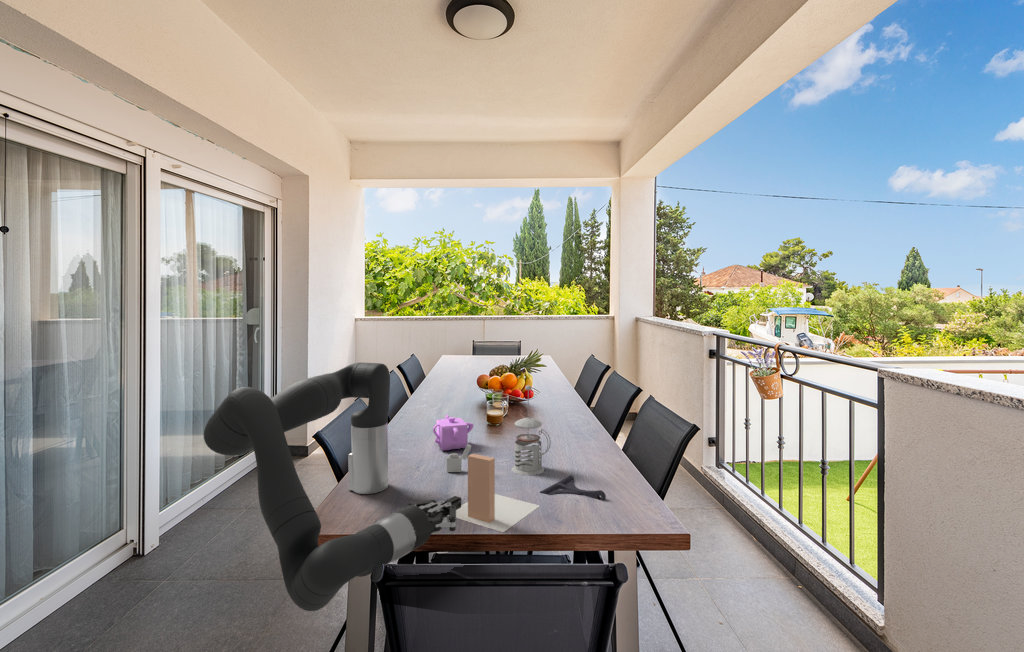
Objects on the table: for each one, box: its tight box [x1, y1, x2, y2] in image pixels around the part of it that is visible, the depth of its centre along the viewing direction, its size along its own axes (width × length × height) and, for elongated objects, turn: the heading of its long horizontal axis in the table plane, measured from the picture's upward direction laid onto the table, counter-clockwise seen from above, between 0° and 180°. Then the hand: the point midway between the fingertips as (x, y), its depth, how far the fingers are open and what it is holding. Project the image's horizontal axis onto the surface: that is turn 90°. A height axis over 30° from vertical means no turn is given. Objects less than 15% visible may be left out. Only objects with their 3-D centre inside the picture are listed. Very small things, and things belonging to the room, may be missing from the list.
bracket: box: [539, 474, 607, 501], centre depth 128 cm, size 14×15×3 cm
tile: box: [467, 453, 496, 523], centre depth 111 cm, size 6×2×14 cm, turn 57°
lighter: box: [446, 443, 472, 473], centre depth 143 cm, size 7×2×8 cm, turn 90°
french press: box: [511, 384, 552, 476], centre depth 144 cm, size 10×12×25 cm
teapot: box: [432, 414, 475, 451], centre depth 168 cm, size 18×14×10 cm
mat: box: [456, 493, 540, 533], centre depth 116 cm, size 16×16×1 cm
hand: (458, 501), depth 104 cm, fingers closed
